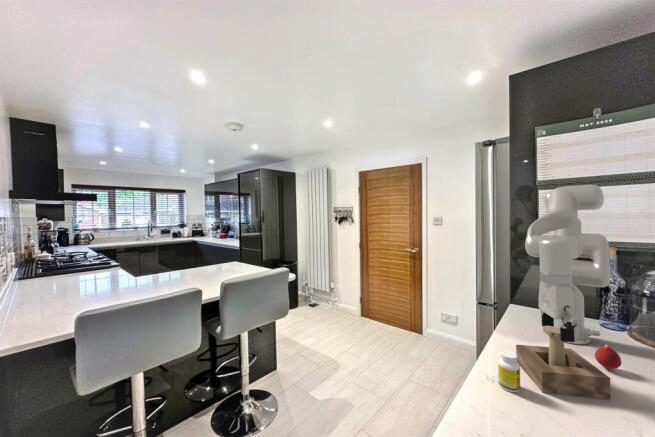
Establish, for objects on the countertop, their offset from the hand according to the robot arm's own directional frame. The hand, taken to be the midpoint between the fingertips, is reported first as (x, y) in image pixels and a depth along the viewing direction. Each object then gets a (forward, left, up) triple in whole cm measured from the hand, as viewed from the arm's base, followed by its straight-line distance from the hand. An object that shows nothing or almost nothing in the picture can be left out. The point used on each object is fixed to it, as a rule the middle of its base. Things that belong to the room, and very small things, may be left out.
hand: (557, 333), depth 82 cm
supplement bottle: (+16, +7, -14) cm, 23 cm away
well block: (0, 0, -14) cm, 14 cm away
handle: (0, 0, -14) cm, 14 cm away
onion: (-18, -8, -14) cm, 24 cm away
